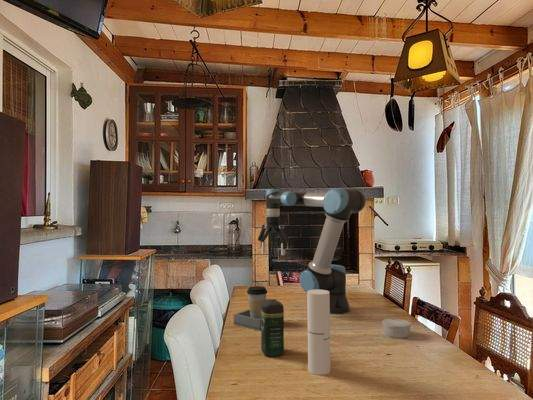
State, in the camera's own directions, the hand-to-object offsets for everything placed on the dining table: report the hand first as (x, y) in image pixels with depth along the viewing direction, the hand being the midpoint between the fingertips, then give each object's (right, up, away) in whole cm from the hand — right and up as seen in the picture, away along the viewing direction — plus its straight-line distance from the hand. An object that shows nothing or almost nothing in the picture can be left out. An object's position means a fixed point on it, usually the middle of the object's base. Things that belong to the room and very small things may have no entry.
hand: (273, 254), depth 206 cm
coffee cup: (-8, -25, -39) cm, 47 cm away
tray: (-8, -26, -39) cm, 47 cm away
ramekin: (+50, -25, -56) cm, 79 cm away
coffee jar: (-2, -25, -73) cm, 77 cm away
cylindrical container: (+13, -24, -88) cm, 92 cm away
